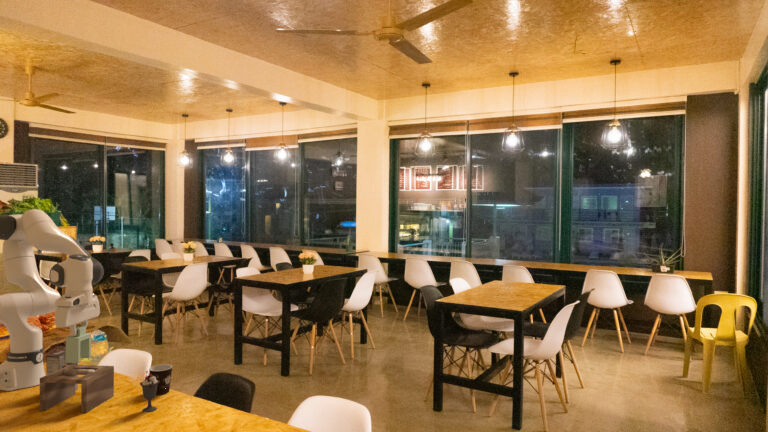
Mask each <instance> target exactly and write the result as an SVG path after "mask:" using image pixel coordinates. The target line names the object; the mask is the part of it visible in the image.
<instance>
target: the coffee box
mask: <svg viewBox="0 0 768 432" xmlns="http://www.w3.org/2000/svg"><path fill="white" fill-rule="evenodd" d="M45 356H46V357H45V358H46V359H45V361H46V363H45V366H46V369H45V370H46V371H45V375H48V374H50V373H53V372H55V371H57V370H59V369H62V368H64V367H66V366H68V365H79V363H66V349H63V350H60V351H55V352H53V353H50V354H47V355H45ZM75 377H79V376H78V375H75ZM78 387H79V386H78V384H75V391H77V390H78Z"/></svg>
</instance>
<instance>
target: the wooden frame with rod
mask: <svg viewBox="0 0 768 432" xmlns="http://www.w3.org/2000/svg"><path fill="white" fill-rule="evenodd" d="M45 375H46V374H45ZM75 375H79V376H78V377H75ZM114 381H115V366H114V365H96V364H95V365H93V364H91V365H90V364H78V365H68V366H66V367H64V368H62V369H59V370H57V371H55V372H53V373H50V374H48V375H46V376H44V377H41V378H40V384H39V411H40V412H45V411H47V410H49V409H51V408H53V407H54V406H57V405H59V404H61V403H62V402H64V401H66V400H68V399H70V398H72V397H73V396H76V390H75V384H79V385H80V386H81V387H80V388H81V389H80V390H81V391H80V392H81V394H80V395H81V396H80V399H81V400H80V407H81V409H80V412H81V413H83V414H84V413H86V414H87V413H88V412H90V411H92V410H93V409H95V408H97V407H98V406H100V405H101V404H104V403H105V402H107V401H108V400H110V399H112V398H113V397H114V396H115V395H114V394H115V384H114V383H115V382H114ZM81 413H80V414H81Z"/></svg>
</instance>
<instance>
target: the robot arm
mask: <svg viewBox="0 0 768 432" xmlns="http://www.w3.org/2000/svg"><path fill="white" fill-rule="evenodd" d="M0 240H2V241H3V243H2V262H3V269H4V275H5V279H6V280H7V281H8V283H10V284H13V285H16V286H18V287H19V288H21V289H22V291H17V292H8V293H3V294H0V323H1V324H2V325H4V327H5V328H6V330H7V331H8V335H9V344H10V345H9V346H10V347H9V348H10V350H9V351H8V352H5V353H4V357H6V359H5V360H4V361H3V362H1V364H0V391H5V392H10V391H15V390H19V389H26V388H31V387H32V388H33V387H34V386H38V385H39V386H40V378H41V377H44V376H46V371H45V368H44V367H45V366H44V356H45V349H44V347H43V331H42V328H41V327H39V326H38V325H34V324H32V323H29V322H28V318H30V317H37V316H44V315H47V314H50V313H53V312H54V325H55V327H57V328H68V329H69V330H70V336H71V335H72V336H75V335H78V330H76V327H77V324H80V323H81V325H80V326H81V327H85V333H87V327H88V325H89V320H91V319H94V318H97V317H99V316H100V314H101V307H100V300H99V299H98V295H96V293H93V292H94V290H93V285H97V284H98V283H99V282H100V281H101V280H102V279H103V277H104V274H105V269H104V267H103V265H102V263H101V262H100V261H99V260H97V259H96V258H94V257H93V256H92V255H91V253H89V252H88V251H87V249H85V248H84V247H83V246H82V244H81V243H79V241H78V240H77V239H75V237H73V236H71V235H69V234H67V233H66V232H64V231H63V230H61V229H60V228H59V227H58V226H57V225H56V223H55V222H54V220H53V219H52V217H51V216H49V215H48V214H47V213H46V212H45V211H43V210H41V209H38V208H32V209H29V210H26V211H25V212H23V213H21V214H20V213H19V214H17V213H16V214H2V215H0ZM34 248H35V249H36V250H39V251H43V252H50V253H51V252H52V253H59V254H64V255H68V257H66V259H65V260H64V261H61V262H58V263H57V262H56V263H55V264H54V265H53V266H52V267H51V268H50V270H49V276H48V277H49V281H50V283H51V284H52V285H53V286H54V287H57V288H65V290H64V291H65V293H64V294H62V295H61V294H60V293H59V291H58V290H57V289H54V288H52V287H50V286H49V285H47V284H46V283H45V282H44V280H43V279H42V277H41V276H40V273H39V270H38V267H37V261H36V256H35V252H34Z"/></svg>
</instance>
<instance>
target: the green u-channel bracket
mask: <svg viewBox="0 0 768 432" xmlns="http://www.w3.org/2000/svg"><path fill="white" fill-rule="evenodd" d="M76 330H78V335H75V336H72V335H71V334H70V335H69V336H66V337H65V350H66V363H78V364H80V363H81V359H91V357H92V333H91V332H85V327H81V325H80V326H76Z"/></svg>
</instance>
